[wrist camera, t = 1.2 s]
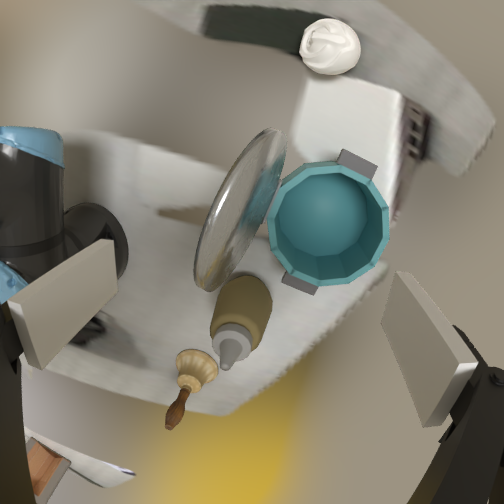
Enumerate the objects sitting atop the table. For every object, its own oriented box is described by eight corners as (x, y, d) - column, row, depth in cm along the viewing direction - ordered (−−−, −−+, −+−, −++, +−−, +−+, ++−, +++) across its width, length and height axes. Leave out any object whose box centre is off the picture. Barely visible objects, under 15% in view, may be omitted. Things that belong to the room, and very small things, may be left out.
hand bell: (173, 373, 57) (143, 432, 42) (179, 342, 54) (146, 403, 39) (213, 387, 57) (192, 450, 42) (223, 357, 54) (200, 423, 39)
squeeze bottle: (228, 262, 47) (193, 326, 30) (280, 275, 47) (271, 347, 30) (218, 306, 50) (185, 381, 33) (267, 319, 50) (253, 399, 33)
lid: (183, 321, 22) (152, 302, 23) (246, 261, 37) (225, 250, 37) (259, 118, 17) (217, 104, 17) (298, 140, 32) (274, 130, 32)
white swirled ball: (306, 25, 34) (308, 3, 27) (359, 40, 34) (371, 21, 26) (294, 73, 37) (294, 58, 30) (348, 88, 37) (359, 76, 29)
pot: (339, 283, 46) (347, 313, 38) (248, 244, 46) (237, 267, 37) (392, 177, 40) (415, 186, 31) (295, 131, 40) (296, 127, 31)
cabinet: (70, 460, 85) (41, 508, 59) (74, 470, 89) (48, 515, 63) (31, 436, 86) (0, 478, 60) (36, 447, 90) (8, 487, 63)
